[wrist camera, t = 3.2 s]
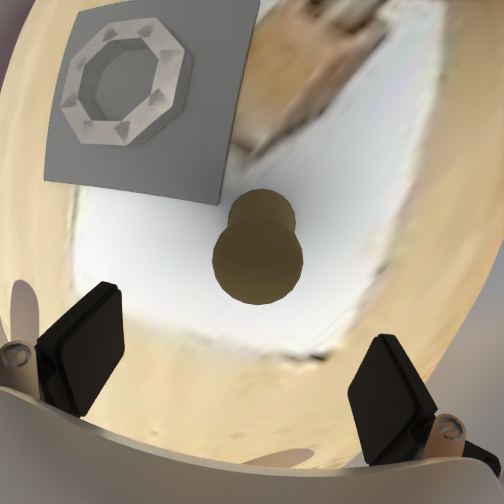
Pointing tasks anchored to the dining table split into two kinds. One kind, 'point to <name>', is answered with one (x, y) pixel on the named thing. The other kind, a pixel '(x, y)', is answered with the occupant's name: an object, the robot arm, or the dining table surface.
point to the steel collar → (145, 114)
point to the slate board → (139, 88)
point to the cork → (258, 249)
